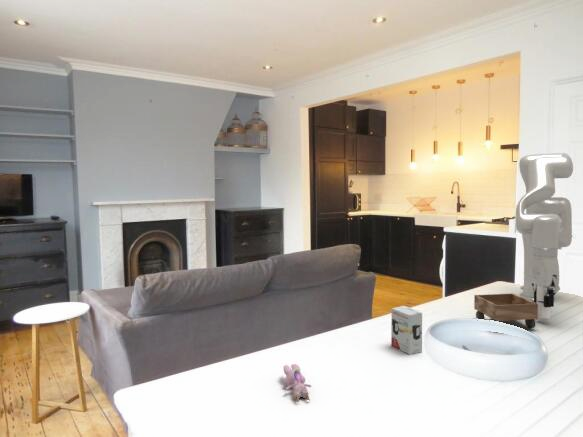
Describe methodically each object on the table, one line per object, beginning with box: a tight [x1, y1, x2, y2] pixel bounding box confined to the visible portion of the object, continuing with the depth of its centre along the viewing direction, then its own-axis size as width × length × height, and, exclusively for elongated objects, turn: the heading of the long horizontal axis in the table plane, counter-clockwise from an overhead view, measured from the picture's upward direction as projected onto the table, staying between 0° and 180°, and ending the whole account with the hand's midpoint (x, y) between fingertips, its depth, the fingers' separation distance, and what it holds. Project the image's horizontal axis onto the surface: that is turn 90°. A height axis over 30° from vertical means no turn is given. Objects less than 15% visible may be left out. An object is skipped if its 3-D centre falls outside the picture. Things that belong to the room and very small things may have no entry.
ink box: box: [390, 305, 423, 355], centre depth 124 cm, size 9×5×12 cm, turn 25°
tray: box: [473, 293, 539, 329], centre depth 143 cm, size 14×14×9 cm
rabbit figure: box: [283, 363, 312, 403], centre depth 101 cm, size 6×6×15 cm
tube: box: [536, 285, 552, 320], centre depth 145 cm, size 4×4×15 cm
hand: (543, 304), depth 145 cm, fingers closed on tube, 4 cm apart
